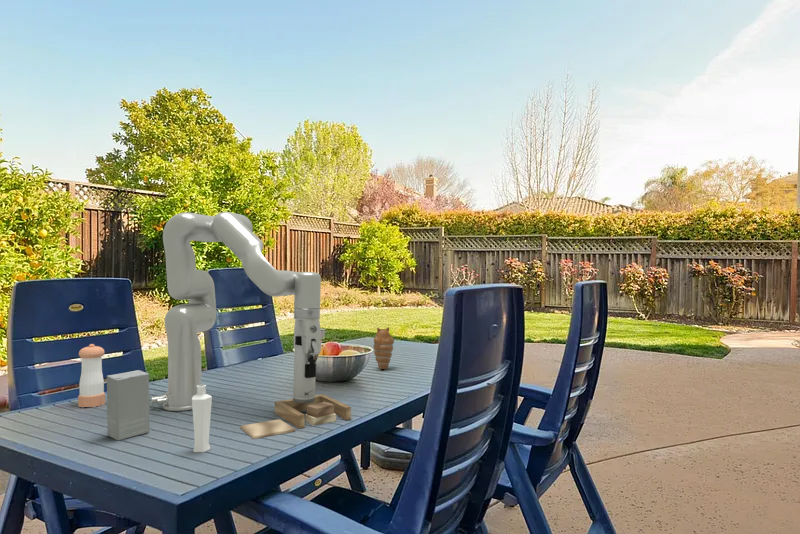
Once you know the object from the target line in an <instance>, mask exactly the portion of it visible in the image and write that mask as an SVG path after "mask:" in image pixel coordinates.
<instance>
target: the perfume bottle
mask: <svg viewBox="0 0 800 534" xmlns="http://www.w3.org/2000/svg"><path fill="white" fill-rule="evenodd" d="M206 387H207V385H206V384H201V385H197V394H196V395H195V396H193V397H192V408H193V409H192V420H193V422H192V423H193V435H194V436H193V437H194V446H193V450H192V451H193V453H205V452H207V451H209V450H211V445H210V441H209V440H210V431H211V430H210V428H211V415H212V403H213V396H212V395H210V394H208V393H207V392H206Z"/></svg>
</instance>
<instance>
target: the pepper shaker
mask: <svg viewBox="0 0 800 534" xmlns="http://www.w3.org/2000/svg"><path fill="white" fill-rule="evenodd" d="M104 355H105V348H103V347H101V346H99V345H95V343H90V344H89V345H88V346H85V347H83V348H81V349H80V350H79V352H78V356H79V358H81V372H80V373H81V374H80V376H79V377H80V379H79V385H78V387H79V388H78V389H79V395H77V406H79V407H93V408H95V407H94V406H98V407H101V406H100V405H102V406H104V405H105V404H106V393H105V392H104V391H105V380H104V375H103V367H102V365H103V364H102V363H103V362H102V361H103V358H102V357H103V356H104ZM103 404H104V405H103ZM79 407H78V408H79Z"/></svg>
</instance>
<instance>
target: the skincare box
mask: <svg viewBox="0 0 800 534" xmlns="http://www.w3.org/2000/svg"><path fill="white" fill-rule="evenodd" d="M106 403H107V404H106V407H107V408H106V411H107V413H106V415H107V436H108V437H110V438H112V439H114V440H115V441H122V440H126V439H129V438H132V437H136V436H140V435H144V434H148V433H150V374H149V373H148V372H145V371H143V370H140V369H137V370H133V371H127V372H120V373H115V374H110V375H109V374H108V375H106Z"/></svg>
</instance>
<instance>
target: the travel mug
mask: <svg viewBox="0 0 800 534" xmlns="http://www.w3.org/2000/svg"><path fill="white" fill-rule="evenodd" d="M295 341H296V342H295V349H294V356H293V357H294V359H293V360H294V361H293V362H294V364H293V365H294V366H293V367H294V368H293V394H292V396H293V397H292V399H293V401H294V402H296V403H301V404H306V403H312V402H314V401H315V396H316V379H317V378H316V377H313V378H305V364H306V357H305V356H306V355H305V354H304V353H303V350H302V343H301V342H302V336H295ZM308 352H309V353H313V351H312V350H309V351H308ZM310 356H312V355H309V358H310Z"/></svg>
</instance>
